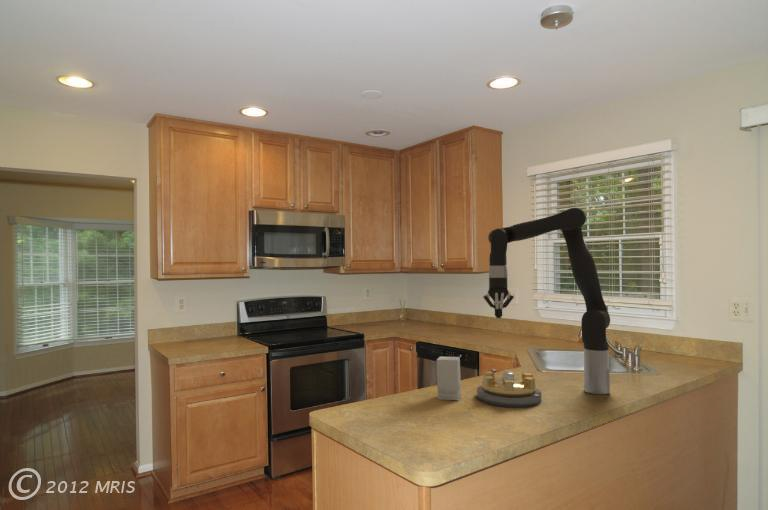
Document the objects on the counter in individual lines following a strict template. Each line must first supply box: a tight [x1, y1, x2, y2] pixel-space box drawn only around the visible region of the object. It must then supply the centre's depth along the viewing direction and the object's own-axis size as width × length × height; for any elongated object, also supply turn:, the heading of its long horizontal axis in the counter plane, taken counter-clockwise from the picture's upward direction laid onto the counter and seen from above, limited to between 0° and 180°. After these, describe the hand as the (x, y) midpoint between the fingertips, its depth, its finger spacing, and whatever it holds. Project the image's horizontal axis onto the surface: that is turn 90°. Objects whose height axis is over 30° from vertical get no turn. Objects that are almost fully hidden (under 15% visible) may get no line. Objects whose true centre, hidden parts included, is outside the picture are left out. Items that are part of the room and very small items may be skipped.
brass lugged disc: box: [481, 369, 537, 397], centre depth 192 cm, size 20×20×6 cm
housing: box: [476, 385, 542, 409], centre depth 192 cm, size 24×24×3 cm
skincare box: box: [436, 355, 462, 401], centre depth 193 cm, size 8×7×16 cm
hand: (498, 317), depth 209 cm, fingers closed
